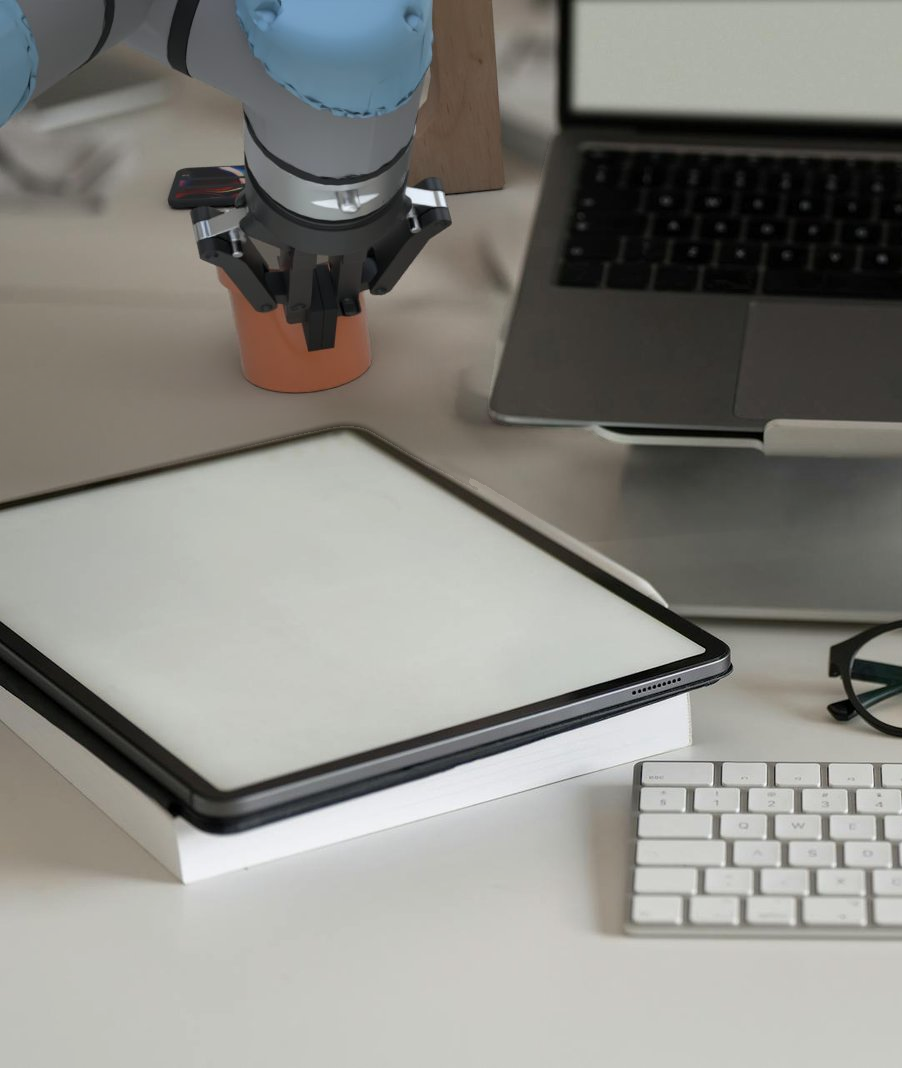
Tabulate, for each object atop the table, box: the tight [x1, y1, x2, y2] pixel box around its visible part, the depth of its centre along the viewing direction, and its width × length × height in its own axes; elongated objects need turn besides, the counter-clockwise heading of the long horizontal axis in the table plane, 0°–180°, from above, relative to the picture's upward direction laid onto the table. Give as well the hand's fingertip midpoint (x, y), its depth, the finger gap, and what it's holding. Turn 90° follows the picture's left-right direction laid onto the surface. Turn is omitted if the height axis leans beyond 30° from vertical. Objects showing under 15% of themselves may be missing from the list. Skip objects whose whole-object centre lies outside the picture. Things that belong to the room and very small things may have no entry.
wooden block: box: [407, 0, 506, 195], centre depth 129 cm, size 9×4×18 cm, turn 109°
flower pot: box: [214, 236, 373, 394], centre depth 106 cm, size 9×9×8 cm
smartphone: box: [167, 164, 245, 209], centre depth 132 cm, size 7×1×15 cm
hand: (316, 328), depth 101 cm, fingers closed
